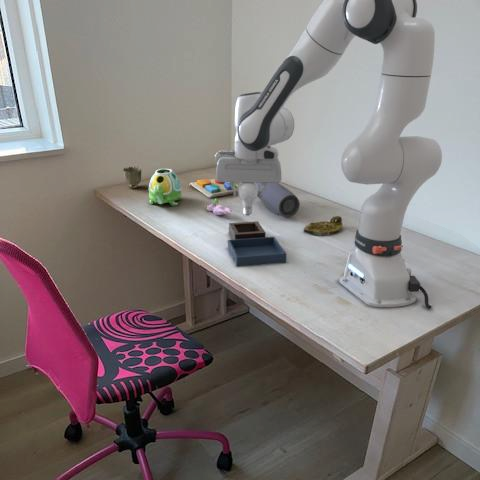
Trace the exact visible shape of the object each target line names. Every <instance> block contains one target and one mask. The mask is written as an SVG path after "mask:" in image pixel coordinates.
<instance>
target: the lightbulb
mask: <svg viewBox="0 0 480 480" xmlns="http://www.w3.org/2000/svg"><path fill="white" fill-rule="evenodd" d="M257 195H258V187H257V185H256V183H249V182H240V184H239V188H238V197H239V198H240V200H241V202H242V205H243V214H244V215H245V216H250V215H251V214H253V205H254V202H255V200H256V199H257V198H258V197H257Z"/></svg>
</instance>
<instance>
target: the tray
mask: <svg viewBox="0 0 480 480" xmlns="http://www.w3.org/2000/svg"><path fill="white" fill-rule="evenodd" d="M227 250H228V252H229V254H230V256H231V258H232V260H233V262H234V265H235V266H236V267H248V266H260V265H274V264H275V265H276V264H286V263H287V252H286V251H285V249H284V248H283V246H282V245H281V244H280V242H279V241H278V239H277V238H276V237H275V236H265V237H262V238H248V239H234V240H232V239H227Z"/></svg>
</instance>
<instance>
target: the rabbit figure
mask: <svg viewBox="0 0 480 480" xmlns="http://www.w3.org/2000/svg"><path fill="white" fill-rule="evenodd" d="M218 203H219V199H218V198H217V197H214V201H213V202H212V203H211V204H209V205H208V204H205V209H206V210H207V211H208V212H212V213H213V214H214V215H217V216H222V215H223V216H224V215H228V213H229V214H230V215H231V214H232V209H231V208H229V207H226V206H225V205H223V204H218Z"/></svg>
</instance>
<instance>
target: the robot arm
mask: <svg viewBox="0 0 480 480" xmlns="http://www.w3.org/2000/svg"><path fill="white" fill-rule="evenodd" d="M417 13H418V2H417V0H323V1H322V2H321V4H320V5H319V7H318V8H317V9H316V10H315V12H314V14H313V15H312V17H311V18H310V20H309V22H308V23H307V25H306V27H305V29H304V30H303V32H302V34H301V36H300V37H299V38H298V40H297V42H296V43H295V45H294V47H293V48H292V50H291V51H290V52H289V53H288V55H287V57H286V58H285V59H284V61H283V62H282V63H281V64H280V66H279V67H278V68H277V70H276V71H275V72H274V74H273V75H272V77H271V79H270V80H269V82H268V83H267V85H266V86H265V88H264V89H263V91H262V92H261V91H255V92H248V93H247V92H246V93H242V94H239V96H238V97H237V99H236V101H235V108H234V128H235V136H234V149H232V150H224V149H222V150H219V151H217V152H216V153H215V154H214V163H215V165H216V171H215V178H216V180H217V181H218V182H230V186H231V188H232V190H233V191H234V194H233V197H239V194H238V189H235V187H234V185H235V183H242V182H249V183H255V184H256V183H262V186H263V187H262V188H261V190H258V197H263V191H264V190H265V188H266V186H267V183H279V184H280V183H281V181H282V166H281V161H280V158H279V150H278V148H277V147H274V146H275V145H277V144H281V143H283V142H285V141H288V140H289V139H290V138H291V137H292V136H293V133H294V131H295V119H294V116H293V114H292V113H291V111H290V110H289V109H288V108H285V107H284V106H285V104H286V103H287V101H288V100H289V99H290V97H291V96H292V95H293V94H294V93H295V92H296V91H299V90H300V88H303V87H304V86H307V85H308V84H311V83H312V82H315V81H317V80H319V79H321V78H323V77H325V76H326V75H328V74H329V73H330V72H331V70H333V69H334V67H335V66H337V64H338V62H339V61H340V60H341V58H342V57H343V55H344V53H345V52H346V50H347V48H348V47H349V45H350V43H351V42H352V40H353V39H354V38H355V37H357V38H360V39H361V40H364V41H367V42H368V43H371V44H373V45H378V44H380V45H381V47H382V50H383V51H382V52H383V59H382V65H381V66H382V67H381V74H380V80H379V85H378V91H377V95H376V96H377V97H376V102H375V106H374V109H373V111H372V115H371V116H370V119H369V121H368V123H367V125H366V126H365V127H364V128H363V130H362V131H361V132H360V134H359V135H358V136H356V138H354V139H353V140H352V141H351V142H349V144H347V146H346V147H345V148H344V150H343V152H342V155H341V160H340V166H341V170H342V174H343V175H344V177H345V178H346V180H347V181H348V182H350V183H355V184H359V185H361V184H362V185H381V184H382V185H381V186H380V187H379V188H378V189H377V190H376V192H374V193H373V194H371V195H370V196H369V197H367V198H366V199H365V200H364V201H363V203H362V205H361V209H360V216H359V221H358V228H357V230H356V232H355V235H354V247H353V249H352V250H351V251H350V253H349V254H348V256H347V261H346V265H345V269H344V273H343V275H341V276H340V278H339V281H338V283H339V284H341V286H343V287H344V288H345V289H347V290H348V291H349V292H351V294H353V295H354V296H356V297H357V298H358V299H360V300H361V301H362V302H363V303H364V304H366V305H367V306H368V307H373V308H398V307H405V306H409V305H412V304H414V303H416V302H417V296H416V294H415V293H416V292H417V293H419V291H420V292H421V293H422V294H423V298H424V305H425V307H426V308H427V309H428V310H431V309H432V305H430V304H429V295H428V293H427V291H426V290H425V288H424V287H423V286H422V285H421V282H420V281H419V280H418V279H417V277H416V276H415V275H412V269H411V268H408V267H407V266H406V263H405V258H403V256H402V253H401V252H402V250H403V247H404V245H402V244H403V240H402V235H401V232H402V228H403V224H404V219H405V216H406V211H407V209H408V207H409V205H410V202H411V201H412V199H413V197H414V196H415V194H416V193H417V192H418V191H419V189H420V188H421V187H422V186H423V185H424V184H425V183H426V182H428V180H430V179H431V178H433V177H434V176H436V174H437V173H438V171H439V169H440V167H441V165H442V161H443V153H442V152H443V151H442V149H441V146H440V145H439V143H438V142H437V140H435V139H433V138H429V137H425V136H419V135H413V136H401V135H402V132H403V131H404V130H405V129H406V127H407V126H409V124H411V123H412V122H414V121H415V120H417V119H418V118H419V117H420V116H421V115H422V114H423V112H424V111H425V108H426V105H427V99H428V93H429V90H430V89H429V88H430V83H431V78H432V77H431V76H432V73H433V65H434V59H435V43H436V42H435V40H436V39H435V37H436V36H435V33H436V32H435V28H434V27H433V25H432V23H431V22H430V21H428V20H427V19H424V18H421V17H417ZM258 197H257V198H258Z"/></svg>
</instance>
